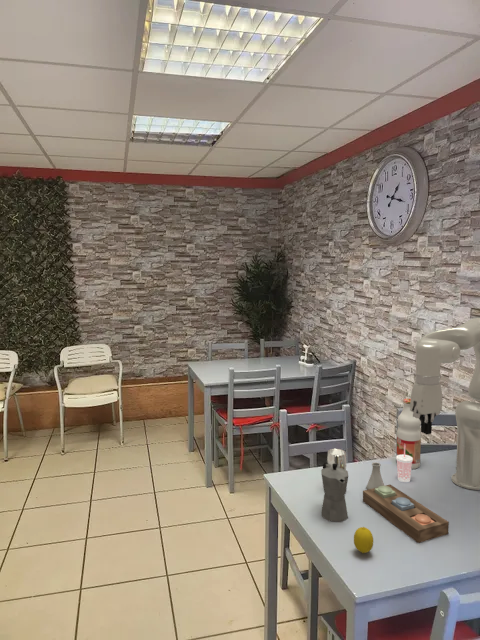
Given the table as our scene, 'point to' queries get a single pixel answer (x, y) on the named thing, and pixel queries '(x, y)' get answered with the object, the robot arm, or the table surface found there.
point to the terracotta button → (422, 519)
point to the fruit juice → (409, 435)
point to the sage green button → (385, 491)
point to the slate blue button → (402, 504)
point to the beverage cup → (404, 467)
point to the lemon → (363, 540)
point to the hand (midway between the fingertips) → (426, 432)
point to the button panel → (407, 516)
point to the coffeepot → (334, 493)
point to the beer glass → (337, 458)
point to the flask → (375, 477)
